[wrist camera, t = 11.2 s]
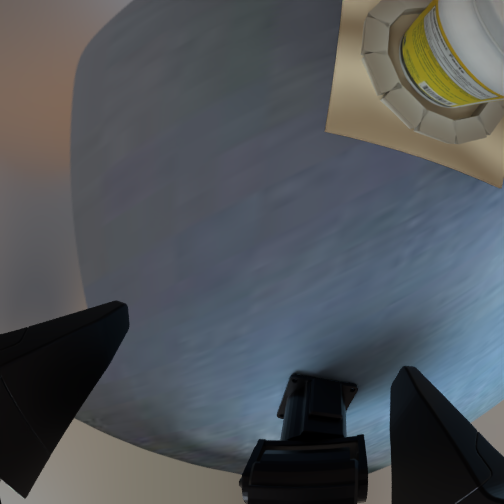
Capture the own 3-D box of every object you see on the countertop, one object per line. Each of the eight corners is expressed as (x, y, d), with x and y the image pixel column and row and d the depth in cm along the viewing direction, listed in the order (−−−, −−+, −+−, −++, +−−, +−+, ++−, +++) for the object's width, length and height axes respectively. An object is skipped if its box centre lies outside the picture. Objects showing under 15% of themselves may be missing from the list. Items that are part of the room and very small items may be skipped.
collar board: (495, 186, 16) (509, 191, 14) (324, 131, 18) (326, 130, 16) (505, 30, 11) (518, 25, 9) (345, -34, 12) (347, -47, 11)
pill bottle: (460, 30, 12) (546, -23, 2) (481, 109, 14) (592, 104, 4) (384, 24, 13) (441, -65, 3) (407, 109, 15) (506, 82, 5)
